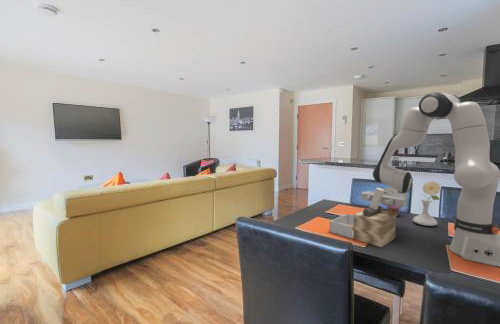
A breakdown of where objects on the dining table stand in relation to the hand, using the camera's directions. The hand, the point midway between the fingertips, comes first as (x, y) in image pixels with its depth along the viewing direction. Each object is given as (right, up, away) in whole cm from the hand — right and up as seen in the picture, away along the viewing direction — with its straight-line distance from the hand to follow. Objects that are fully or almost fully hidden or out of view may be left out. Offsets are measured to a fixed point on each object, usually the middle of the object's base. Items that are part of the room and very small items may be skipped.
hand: (376, 201), depth 121 cm
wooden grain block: (0, -18, +3) cm, 19 cm away
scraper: (-1, -6, +3) cm, 7 cm away
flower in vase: (+39, -17, +22) cm, 48 cm away
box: (-8, -18, +12) cm, 23 cm away
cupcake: (+30, -15, +40) cm, 52 cm away
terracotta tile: (-5, -15, +14) cm, 22 cm away
